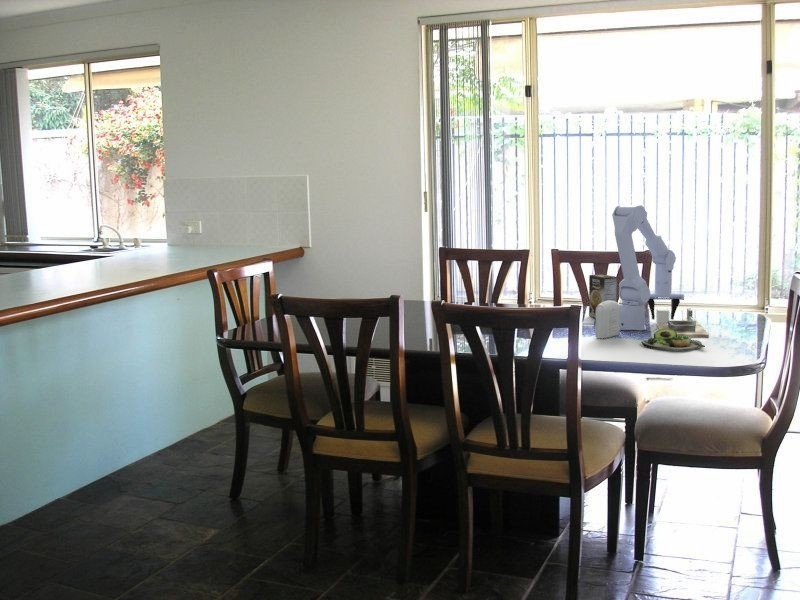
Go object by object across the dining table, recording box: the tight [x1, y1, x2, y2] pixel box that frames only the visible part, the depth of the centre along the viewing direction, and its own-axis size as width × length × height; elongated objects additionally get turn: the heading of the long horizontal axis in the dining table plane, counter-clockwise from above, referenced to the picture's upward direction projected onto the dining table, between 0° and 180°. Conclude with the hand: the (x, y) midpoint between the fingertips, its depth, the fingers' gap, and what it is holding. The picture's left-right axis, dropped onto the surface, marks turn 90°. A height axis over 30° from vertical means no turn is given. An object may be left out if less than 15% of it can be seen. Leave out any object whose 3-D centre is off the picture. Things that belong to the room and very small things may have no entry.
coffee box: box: [588, 273, 618, 319], centre depth 332 cm, size 9×6×16 cm
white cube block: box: [655, 308, 670, 324], centre depth 318 cm, size 4×4×5 cm
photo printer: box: [594, 300, 620, 340], centre depth 296 cm, size 10×4×12 cm, turn 134°
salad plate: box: [640, 329, 706, 352], centre depth 279 cm, size 19×18×5 cm
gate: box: [686, 308, 697, 326], centre depth 311 cm, size 1×14×4 cm, turn 169°
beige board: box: [655, 317, 710, 338], centre depth 307 cm, size 15×30×3 cm, turn 170°
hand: (662, 319), depth 319 cm, fingers open, 6 cm apart
